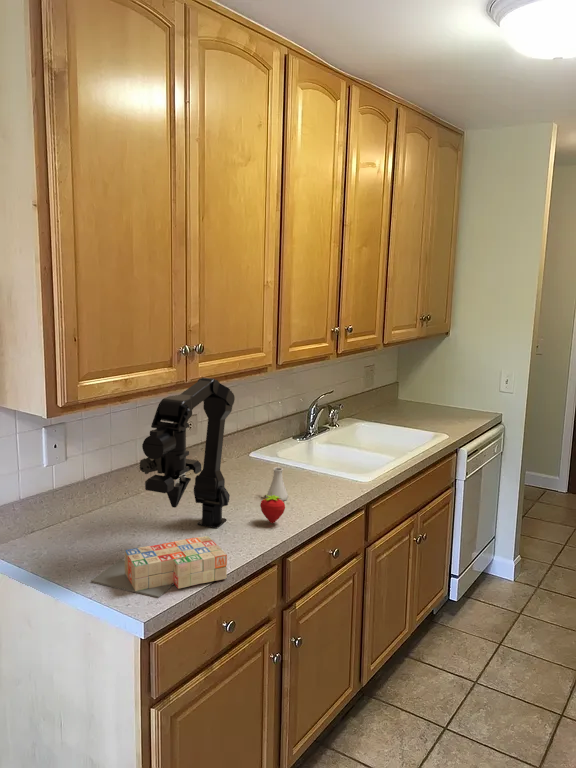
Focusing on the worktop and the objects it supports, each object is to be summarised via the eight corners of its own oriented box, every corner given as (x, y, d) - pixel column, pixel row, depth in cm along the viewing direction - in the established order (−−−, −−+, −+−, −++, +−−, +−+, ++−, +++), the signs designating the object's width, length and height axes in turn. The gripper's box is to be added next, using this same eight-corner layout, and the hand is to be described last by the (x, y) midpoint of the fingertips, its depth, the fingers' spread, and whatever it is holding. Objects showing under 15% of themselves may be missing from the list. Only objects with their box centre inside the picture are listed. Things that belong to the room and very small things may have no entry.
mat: (120, 560, 162) (120, 559, 161) (184, 574, 156) (184, 573, 156) (91, 582, 150) (90, 580, 150) (158, 597, 145) (158, 596, 144)
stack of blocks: (124, 574, 154) (138, 597, 143) (124, 549, 153) (138, 571, 142) (208, 558, 164) (227, 579, 154) (208, 535, 163) (227, 554, 152)
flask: (281, 504, 204) (282, 473, 202) (261, 499, 207) (262, 469, 206) (292, 497, 210) (293, 467, 208) (273, 492, 214) (274, 463, 212)
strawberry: (279, 529, 184) (280, 496, 182) (256, 524, 187) (257, 491, 185) (287, 522, 190) (289, 490, 188) (264, 517, 192) (265, 485, 191)
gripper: (165, 435, 173) (165, 490, 176) (125, 454, 155) (126, 515, 158) (202, 440, 169) (202, 496, 172) (166, 460, 152) (166, 522, 155)
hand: (174, 506), depth 164 cm, fingers closed
